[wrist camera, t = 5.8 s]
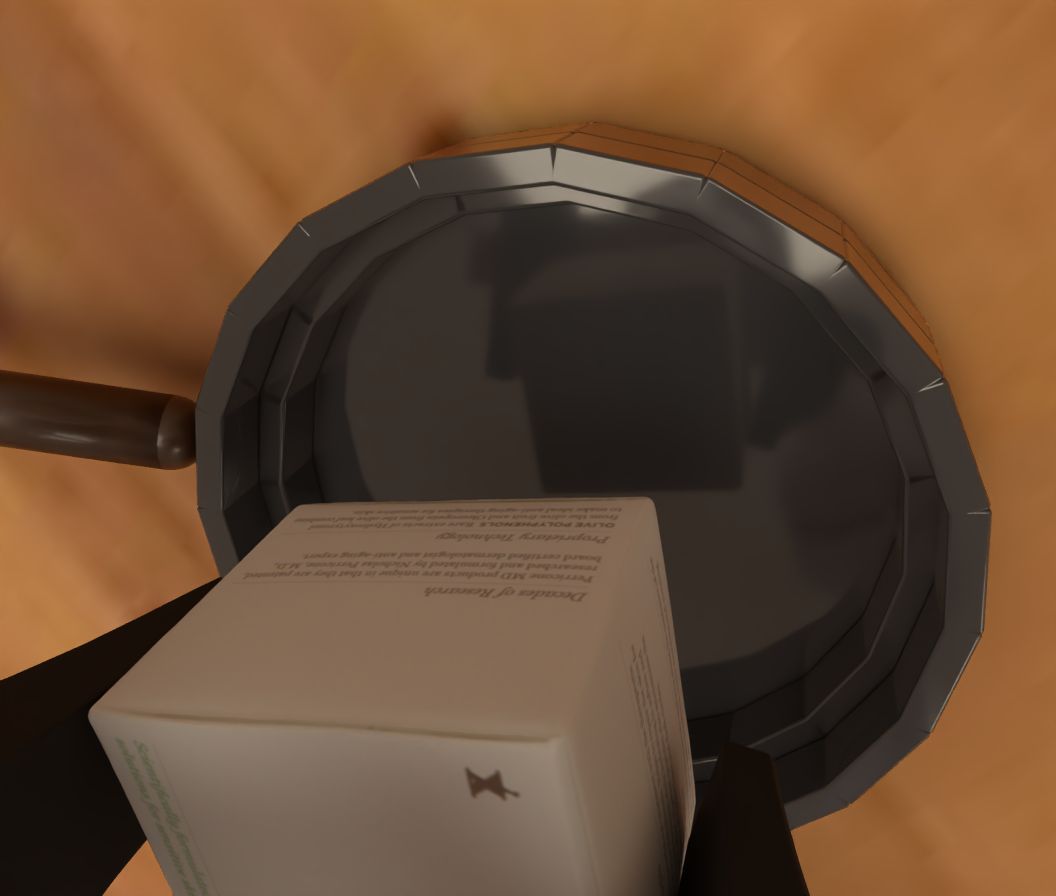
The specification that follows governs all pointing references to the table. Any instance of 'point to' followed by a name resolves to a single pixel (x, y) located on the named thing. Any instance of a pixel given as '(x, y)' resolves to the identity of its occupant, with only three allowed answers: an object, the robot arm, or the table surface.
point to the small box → (419, 709)
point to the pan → (635, 418)
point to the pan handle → (96, 421)
